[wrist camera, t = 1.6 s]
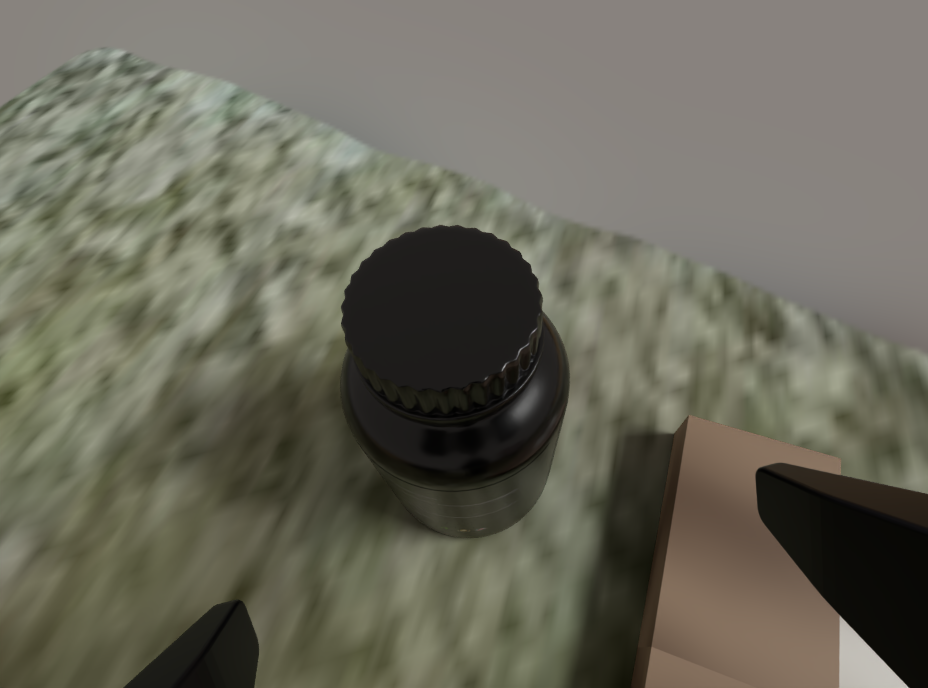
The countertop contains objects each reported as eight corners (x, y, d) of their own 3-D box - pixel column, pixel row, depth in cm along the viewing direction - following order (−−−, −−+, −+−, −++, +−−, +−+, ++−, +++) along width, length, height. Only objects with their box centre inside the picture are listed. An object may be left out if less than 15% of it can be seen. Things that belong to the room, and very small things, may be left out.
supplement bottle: (398, 388, 24) (323, 193, 14) (544, 388, 24) (578, 186, 14) (382, 542, 21) (267, 434, 11) (553, 545, 20) (609, 435, 10)
